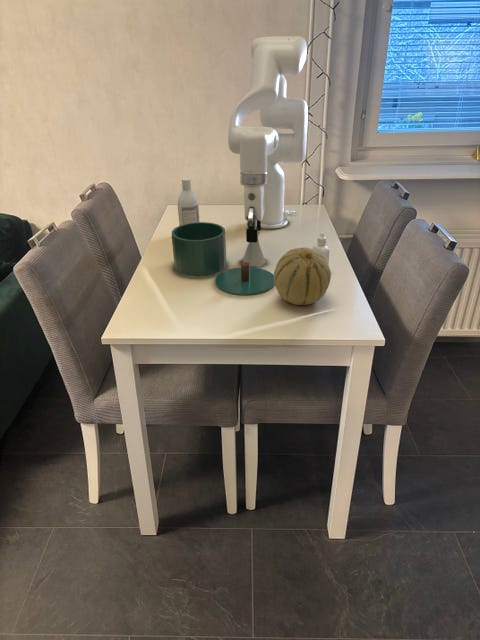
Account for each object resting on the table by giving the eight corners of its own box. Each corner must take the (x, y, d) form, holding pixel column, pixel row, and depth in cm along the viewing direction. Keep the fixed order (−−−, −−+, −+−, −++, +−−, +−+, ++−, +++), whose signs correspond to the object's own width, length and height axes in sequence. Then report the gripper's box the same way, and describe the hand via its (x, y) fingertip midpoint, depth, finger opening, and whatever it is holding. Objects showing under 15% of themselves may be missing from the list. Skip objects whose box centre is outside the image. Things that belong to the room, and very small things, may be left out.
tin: (215, 253, 160) (214, 219, 155) (234, 272, 148) (233, 235, 142) (169, 262, 155) (165, 226, 150) (183, 282, 143) (180, 244, 137)
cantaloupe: (298, 283, 141) (300, 233, 133) (340, 301, 131) (345, 248, 124) (261, 301, 132) (261, 248, 124) (303, 321, 123) (306, 265, 115)
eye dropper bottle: (325, 267, 150) (328, 229, 144) (328, 275, 145) (331, 236, 139) (311, 267, 150) (313, 229, 144) (313, 275, 145) (315, 236, 139)
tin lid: (260, 266, 151) (260, 248, 148) (286, 290, 137) (287, 270, 134) (206, 276, 146) (205, 258, 143) (228, 302, 132) (227, 282, 129)
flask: (249, 269, 150) (248, 238, 144) (238, 261, 155) (237, 230, 150) (270, 264, 152) (270, 233, 147) (258, 256, 158) (258, 226, 153)
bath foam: (204, 236, 174) (200, 179, 164) (187, 241, 170) (183, 183, 160) (192, 231, 178) (188, 175, 168) (176, 236, 175) (171, 178, 164)
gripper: (264, 186, 133) (263, 247, 141) (269, 171, 147) (268, 227, 156) (236, 186, 133) (237, 246, 142) (244, 171, 148) (244, 226, 157)
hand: (253, 236), depth 149 cm, fingers open, 9 cm apart
